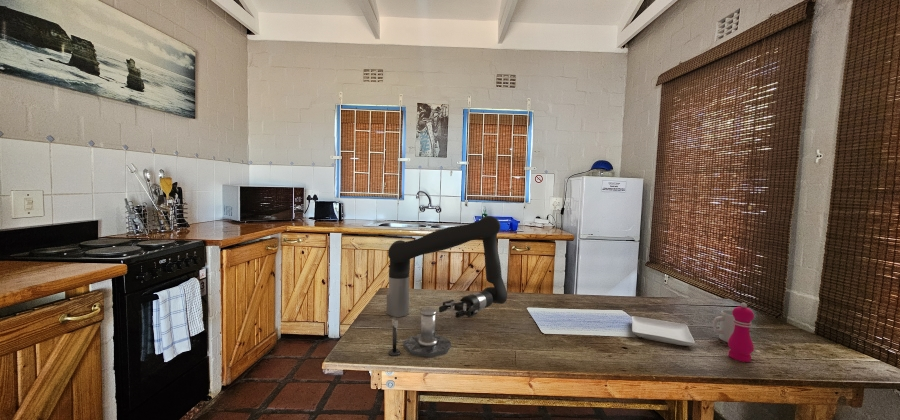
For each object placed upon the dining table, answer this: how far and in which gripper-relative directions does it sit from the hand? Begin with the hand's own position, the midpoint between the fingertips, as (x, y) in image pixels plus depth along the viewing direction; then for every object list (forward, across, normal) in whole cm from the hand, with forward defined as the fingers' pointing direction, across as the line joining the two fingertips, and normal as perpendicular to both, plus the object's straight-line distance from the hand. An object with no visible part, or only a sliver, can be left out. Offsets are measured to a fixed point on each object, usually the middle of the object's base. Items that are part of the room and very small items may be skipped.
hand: (447, 312), depth 141 cm
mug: (-77, +82, +9) cm, 113 cm away
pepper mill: (-60, +86, +9) cm, 105 cm away
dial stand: (+21, -3, +10) cm, 24 cm away
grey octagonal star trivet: (+11, 0, +10) cm, 15 cm away
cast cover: (+11, 0, +8) cm, 14 cm away
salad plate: (-64, +60, +10) cm, 88 cm away
